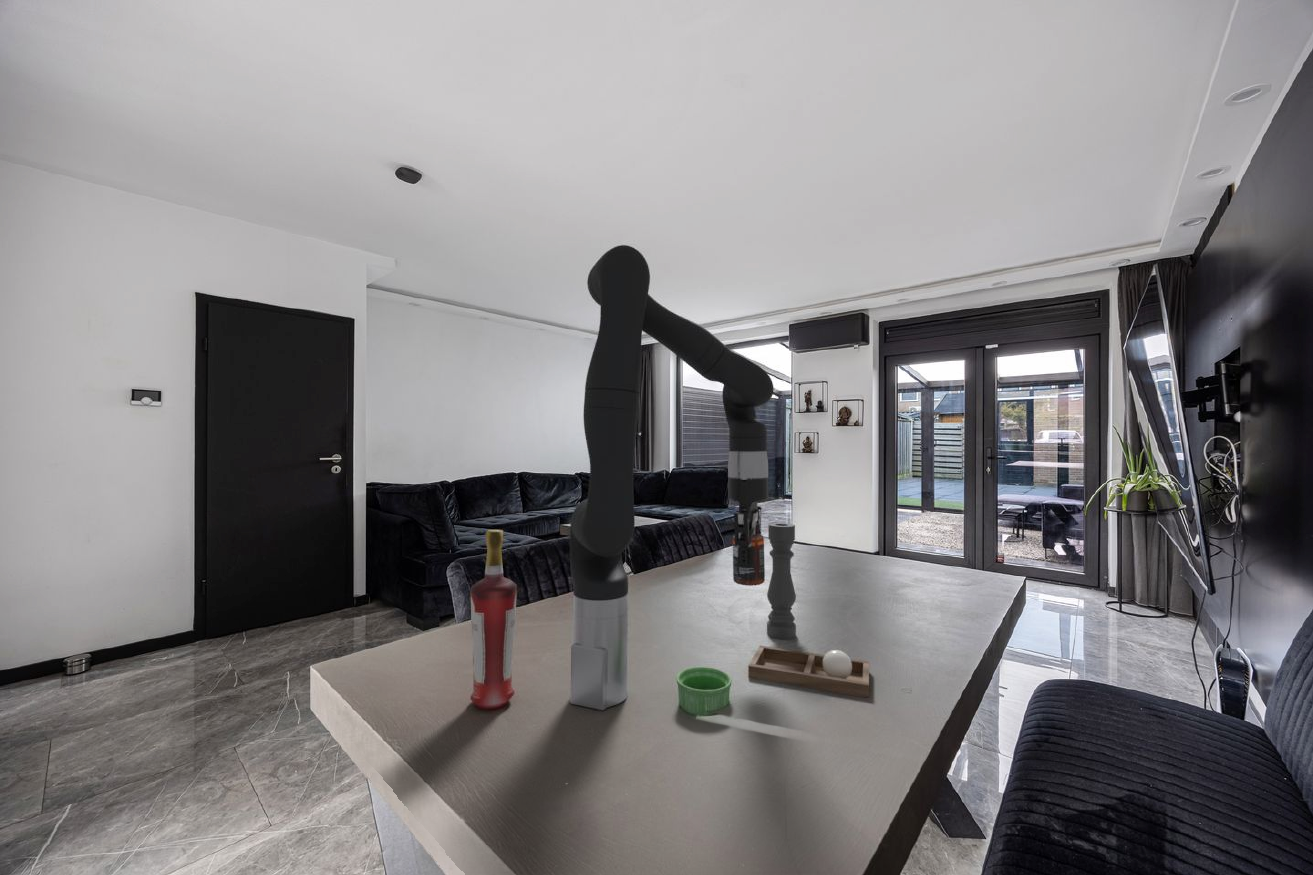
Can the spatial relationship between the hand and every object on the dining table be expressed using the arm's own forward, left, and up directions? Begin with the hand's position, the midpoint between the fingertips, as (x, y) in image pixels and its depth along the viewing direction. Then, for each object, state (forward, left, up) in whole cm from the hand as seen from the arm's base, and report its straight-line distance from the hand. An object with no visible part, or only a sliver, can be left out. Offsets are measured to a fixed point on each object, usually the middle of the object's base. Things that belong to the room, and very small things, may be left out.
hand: (748, 563), depth 101 cm
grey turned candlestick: (+19, -3, -20) cm, 28 cm away
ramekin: (-16, +4, -20) cm, 26 cm away
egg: (0, -16, -19) cm, 25 cm away
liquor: (-29, +36, -20) cm, 50 cm away
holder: (0, -11, -20) cm, 23 cm away
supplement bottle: (0, 0, -4) cm, 4 cm away
